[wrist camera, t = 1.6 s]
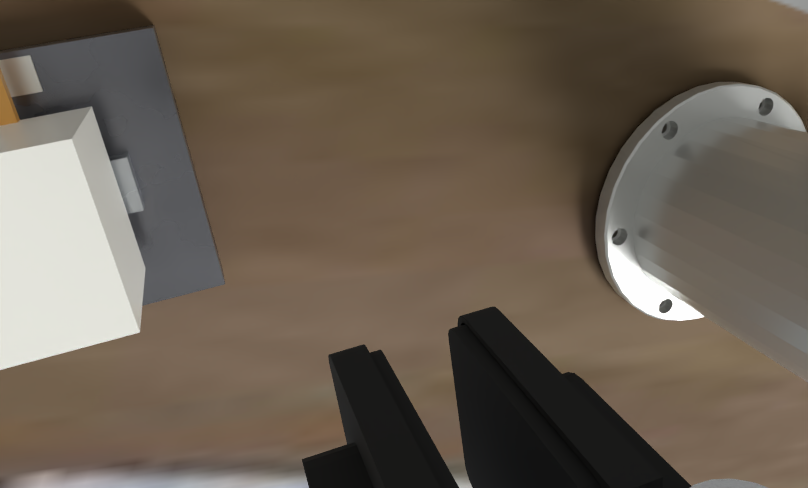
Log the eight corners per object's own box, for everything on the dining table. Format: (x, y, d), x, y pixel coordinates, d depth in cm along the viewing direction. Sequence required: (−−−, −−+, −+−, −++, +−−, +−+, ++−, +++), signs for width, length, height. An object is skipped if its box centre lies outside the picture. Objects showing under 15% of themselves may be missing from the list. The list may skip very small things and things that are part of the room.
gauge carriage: (71, 44, 21) (44, 61, 17) (145, 268, 25) (139, 332, 20) (-105, 73, 20) (-183, 101, 16) (-3, 304, 23) (-43, 381, 19)
